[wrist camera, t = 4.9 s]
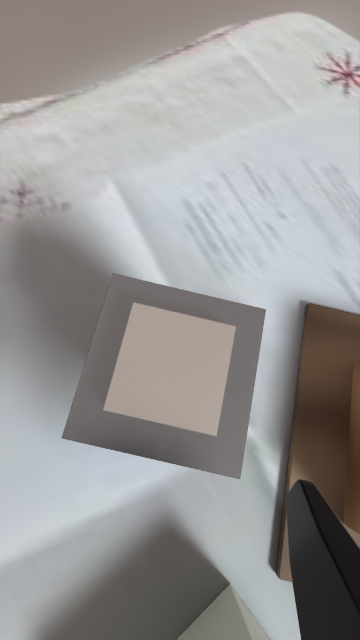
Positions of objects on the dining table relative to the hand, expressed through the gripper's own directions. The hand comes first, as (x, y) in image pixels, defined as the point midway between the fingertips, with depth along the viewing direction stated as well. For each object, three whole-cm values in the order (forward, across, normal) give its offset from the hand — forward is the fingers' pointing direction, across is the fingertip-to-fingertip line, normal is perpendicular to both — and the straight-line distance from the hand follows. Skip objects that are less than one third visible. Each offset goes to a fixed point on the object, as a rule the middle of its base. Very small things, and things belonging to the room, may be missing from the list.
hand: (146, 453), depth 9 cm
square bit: (+8, 0, +5) cm, 10 cm away
